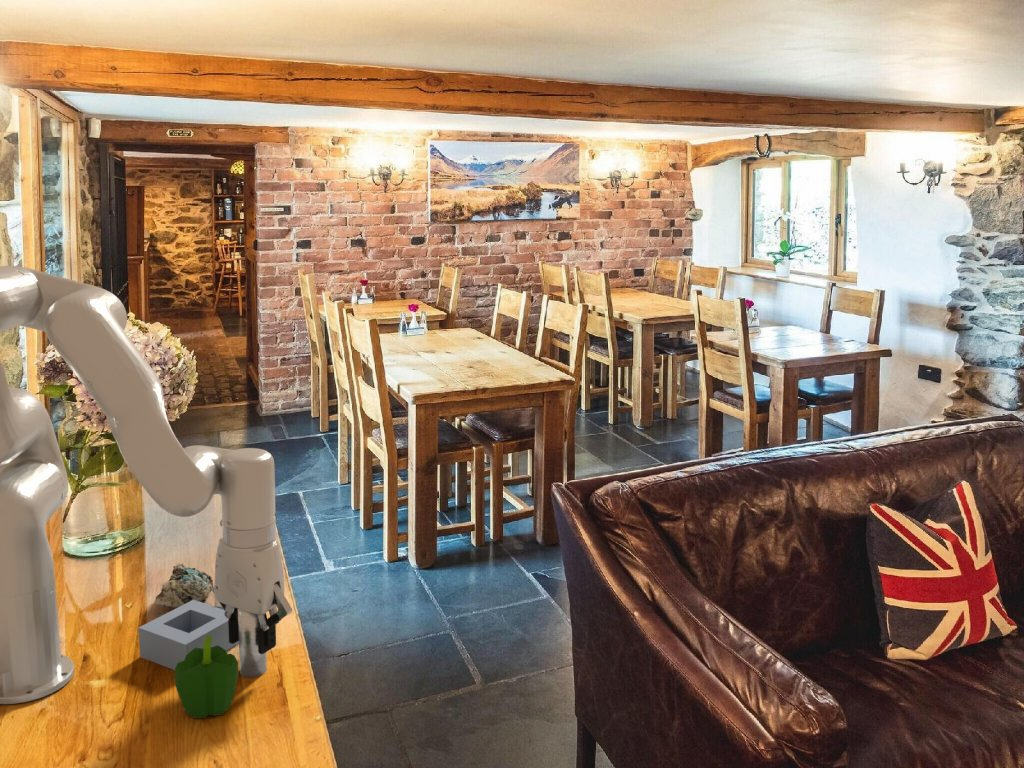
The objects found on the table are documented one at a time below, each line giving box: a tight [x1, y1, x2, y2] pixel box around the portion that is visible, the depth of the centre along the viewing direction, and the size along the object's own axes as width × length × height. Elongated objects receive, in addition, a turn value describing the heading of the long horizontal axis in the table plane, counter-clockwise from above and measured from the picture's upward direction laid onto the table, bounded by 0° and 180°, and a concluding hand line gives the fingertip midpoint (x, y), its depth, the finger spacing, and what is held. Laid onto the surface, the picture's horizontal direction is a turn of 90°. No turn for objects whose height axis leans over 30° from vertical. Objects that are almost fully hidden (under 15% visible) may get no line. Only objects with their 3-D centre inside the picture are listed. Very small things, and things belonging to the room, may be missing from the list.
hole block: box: [138, 600, 239, 671], centre depth 139 cm, size 11×10×5 cm
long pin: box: [238, 609, 268, 678], centre depth 133 cm, size 4×4×12 cm
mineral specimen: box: [153, 561, 214, 609], centre depth 154 cm, size 12×9×8 cm
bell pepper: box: [173, 636, 239, 719], centre depth 123 cm, size 8×8×10 cm
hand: (252, 643), depth 133 cm, fingers open, 5 cm apart
